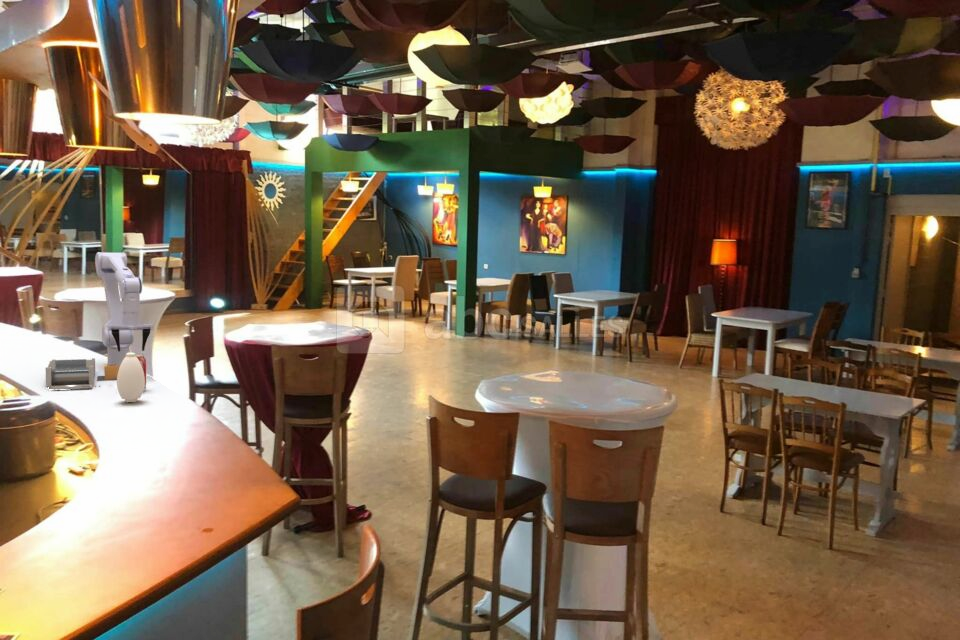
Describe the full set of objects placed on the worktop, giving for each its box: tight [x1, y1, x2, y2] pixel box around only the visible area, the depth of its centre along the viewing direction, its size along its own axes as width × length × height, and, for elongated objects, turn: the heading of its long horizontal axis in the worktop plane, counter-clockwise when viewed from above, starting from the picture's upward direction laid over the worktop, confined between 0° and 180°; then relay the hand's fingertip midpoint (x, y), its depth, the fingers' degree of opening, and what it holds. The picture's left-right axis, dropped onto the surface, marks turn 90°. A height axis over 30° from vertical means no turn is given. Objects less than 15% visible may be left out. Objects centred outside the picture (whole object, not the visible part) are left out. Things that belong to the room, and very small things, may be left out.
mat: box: [96, 375, 117, 382], centre depth 270 cm, size 9×9×1 cm
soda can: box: [124, 352, 147, 390], centre depth 254 cm, size 7×7×12 cm
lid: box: [47, 358, 96, 372], centre depth 261 cm, size 15×14×3 cm
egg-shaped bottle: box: [116, 345, 145, 403], centre depth 238 cm, size 8×8×18 cm
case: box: [45, 357, 96, 388], centre depth 265 cm, size 24×14×7 cm, turn 25°
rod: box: [48, 383, 94, 390], centre depth 252 cm, size 13×2×2 cm, turn 115°
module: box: [103, 363, 119, 379], centre depth 270 cm, size 4×4×5 cm
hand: (131, 350), depth 272 cm, fingers open, 7 cm apart
